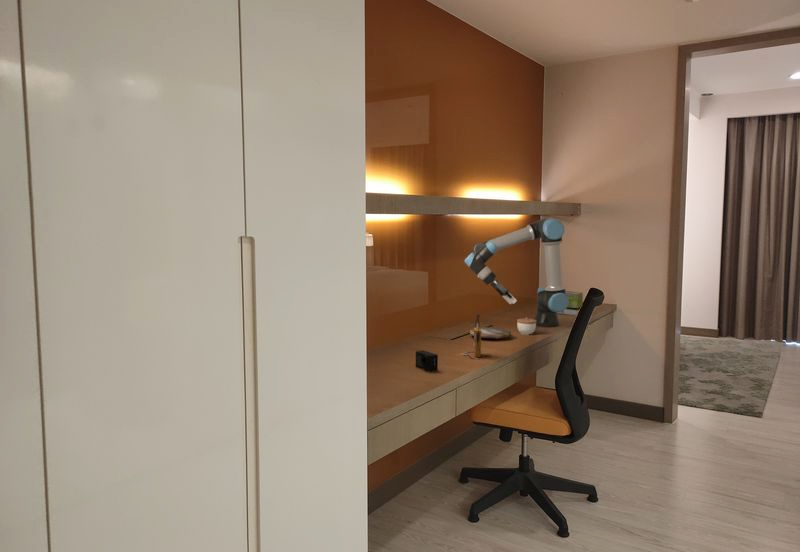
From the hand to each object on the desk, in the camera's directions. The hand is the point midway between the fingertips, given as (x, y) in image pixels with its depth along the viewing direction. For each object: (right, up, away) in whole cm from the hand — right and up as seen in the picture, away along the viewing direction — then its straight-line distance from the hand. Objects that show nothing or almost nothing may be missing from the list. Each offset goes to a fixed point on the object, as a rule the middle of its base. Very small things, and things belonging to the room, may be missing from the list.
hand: (513, 302), depth 346 cm
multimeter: (-31, -23, -54) cm, 67 cm away
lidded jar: (+7, -18, -1) cm, 19 cm away
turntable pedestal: (-15, -18, -12) cm, 26 cm away
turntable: (-15, -17, -12) cm, 25 cm away
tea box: (+50, -11, +68) cm, 85 cm away
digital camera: (-53, -26, -78) cm, 98 cm away
